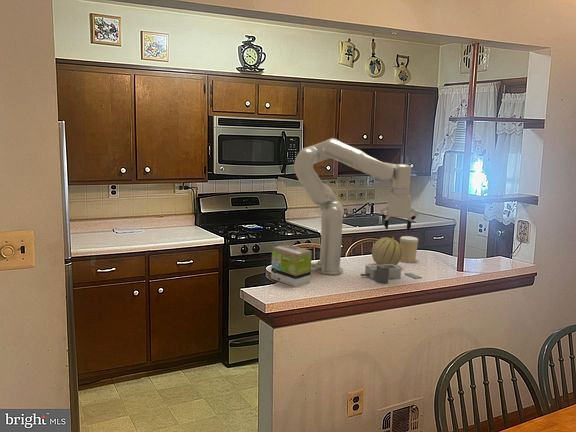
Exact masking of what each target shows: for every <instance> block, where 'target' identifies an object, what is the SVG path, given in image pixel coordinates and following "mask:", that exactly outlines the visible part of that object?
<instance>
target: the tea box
mask: <svg viewBox="0 0 576 432" xmlns="http://www.w3.org/2000/svg"><path fill="white" fill-rule="evenodd" d="M312 255H313V253H312V250H311V249H310V250H309V249H306V248H303V247H299V246H295V245H291V244H283V245H278V246H274V247H271V267H270V269H271V272H270V273H271V274H270V279H271V280H274V281H277V282H280V283H284V284H286V285H289V286H291V287H294V288H297V287H301V286H303V285H307V284H310V283H311V271H312V267H311V263H312Z"/></svg>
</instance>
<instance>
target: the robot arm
mask: <svg viewBox="0 0 576 432" xmlns="http://www.w3.org/2000/svg"><path fill="white" fill-rule="evenodd" d="M330 159H331V160H332V159H333V160H334V161H337V162H340V163H342V164H344V165H346V166H348V167H351V168H352V169H354V170H356V171H360V172H362V173H364V174H367V176H370V177H373V178H375V179H377V180H380V181H382V182H387V181H390V180H391V179H392V187H391V188H388V192H389V193H391V194H389V197H388V202H387V206H385V207H382V208H380V209H378V210H379V213H380V215H381V217H382V218H383V219H384V225H383V226H384V228H385V230H388V229H389V219H390V218H404V219H406V218H407V222H406V223H407V224H406V230H407V231H410V229H412V222H413V221H414V220H415V219H416V218H417V216H418V215H419V212H418V210H415V209H413V208H412V197H411V195H410V185H411V176H412V175H411V173H412V167H411V165H409V164H406V163H397V164H395V163H391V162H384V161H380V160H378V159H377V158H375V157H372V156H370V155H368V154H367V153H365V152H364V151H362V150H361V149H359V148H356V147H354V146H352V145H349V144H346V143H345V142H343V141H340V140H339V139H337V138H334V137H333V138H332V137H331V138H329V139H326V140H324V141H321V142H319V143H316V144H313V145H310V146H307V147H303V148H302V149H301V150H299V152H298V153H297V155H296V157H295V160H294V164H293V167H294V168H293V169H294V173H295V175H296V177H297V180H298V181H299V182H300V183H301V186H302V187H303V189H304V191H305V192H306V194H307V195H308V196H309V198H310V201H311V202H312V203H313V204H314V205H316V206H318V207H319V209H320V211H321V212H322V213H321V217H320V218H321V221H320V223H321V230H320V234H321V235H320V254H319V260H317V262H315V263H314V262H311V268H314V269H315V271H316V272H317V273H319V274H323V275H329V276H330V275H333V276H334V275H340V274H343V273H344V269H343V268H342V267H341V255H342V254H341V252H342V238H343V237H342V236H343V220H344V214H345V212H344V211H345V210H344V207H343V205H342V204H341V202H340V200H339V199H338V198H337V196H336V194H335V193H334V192H333V190H332V188H331V187H330V186H329V185H328V184H326V183H323V181H322V180H321V178H320V177H319V175H318V173H317V172H316V171H315V169H314V164H317V163H320V162H323V161H326V160H330ZM384 212H386V213H387V214H386V215H385V214H384ZM412 213H413V215H411V214H412Z"/></svg>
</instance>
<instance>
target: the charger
mask: <svg viewBox="0 0 576 432" xmlns="http://www.w3.org/2000/svg"><path fill="white" fill-rule="evenodd" d="M388 276H389V268H388V267H387V266H385V265H384V266H377V269H376V280H375V282H376V281H377V283H378V284H379V283H383V284H389V279H388Z"/></svg>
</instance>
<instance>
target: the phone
mask: <svg viewBox="0 0 576 432" xmlns="http://www.w3.org/2000/svg"><path fill="white" fill-rule="evenodd" d="M404 274H405V276H407V277H409V278H411V279H414V280H417V279H422V276H419V275H418V274H415V273H412V272H406V273H405V272H404V273H403V275H404Z"/></svg>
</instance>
